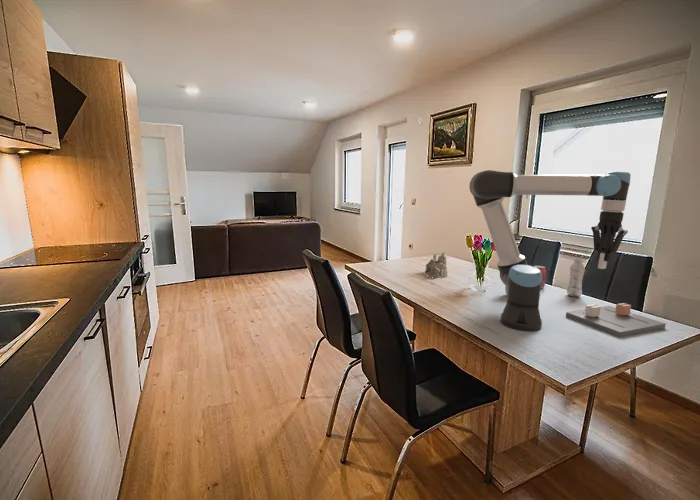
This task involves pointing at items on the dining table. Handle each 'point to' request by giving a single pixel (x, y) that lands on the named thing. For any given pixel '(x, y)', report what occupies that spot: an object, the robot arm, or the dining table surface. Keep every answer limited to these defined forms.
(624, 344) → the dining table surface
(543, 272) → the soda can
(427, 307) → the dining table surface
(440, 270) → the ceramic cottage
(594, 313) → the white fader
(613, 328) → the fader panel
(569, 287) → the plastic bottle
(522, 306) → the robot arm
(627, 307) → the terracotta fader
